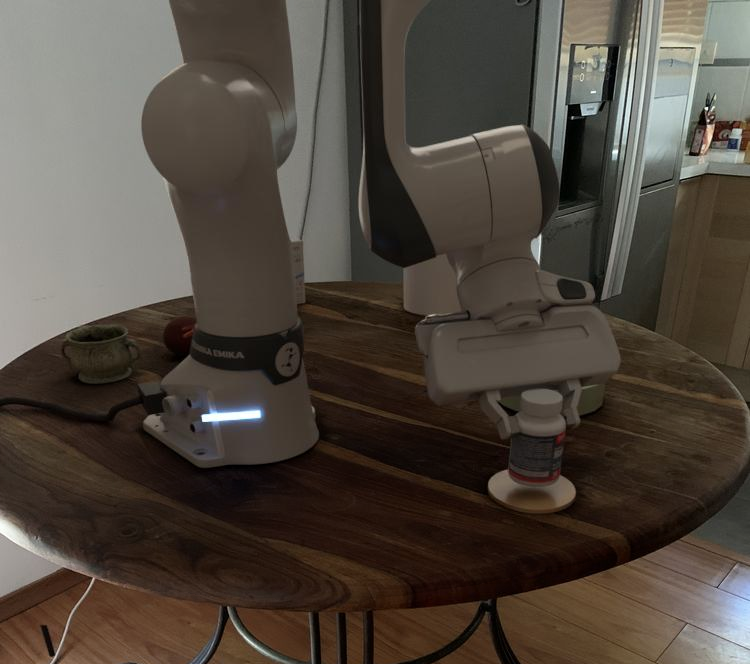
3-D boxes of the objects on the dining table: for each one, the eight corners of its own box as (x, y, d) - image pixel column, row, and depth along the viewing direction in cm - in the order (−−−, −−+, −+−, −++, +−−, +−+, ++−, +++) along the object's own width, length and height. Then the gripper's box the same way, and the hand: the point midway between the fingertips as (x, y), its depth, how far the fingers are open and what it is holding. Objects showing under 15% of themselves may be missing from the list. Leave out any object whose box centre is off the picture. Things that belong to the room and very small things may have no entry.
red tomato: (198, 344, 119) (193, 307, 116) (229, 357, 114) (224, 318, 111) (156, 354, 115) (150, 316, 112) (186, 368, 109) (181, 329, 106)
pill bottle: (559, 491, 73) (570, 408, 68) (506, 486, 74) (513, 404, 69) (559, 466, 77) (569, 387, 73) (509, 462, 78) (515, 384, 74)
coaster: (471, 495, 76) (471, 491, 76) (513, 463, 82) (513, 459, 82) (551, 523, 71) (551, 519, 71) (589, 487, 77) (590, 483, 77)
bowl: (474, 402, 97) (475, 374, 95) (524, 372, 107) (527, 345, 105) (574, 429, 90) (578, 399, 88) (619, 394, 99) (624, 366, 97)
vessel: (53, 385, 104) (42, 342, 101) (77, 364, 112) (67, 323, 109) (136, 385, 104) (128, 342, 100) (154, 364, 111) (148, 323, 108)
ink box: (264, 309, 136) (258, 243, 131) (255, 303, 140) (249, 238, 134) (306, 303, 140) (303, 238, 134) (296, 297, 144) (292, 234, 138)
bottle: (479, 308, 136) (488, 160, 123) (428, 319, 130) (433, 165, 117) (438, 295, 144) (443, 155, 132) (389, 305, 138) (389, 159, 126)
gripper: (418, 300, 70) (453, 435, 67) (606, 282, 75) (647, 406, 72) (403, 332, 76) (434, 457, 73) (578, 313, 81) (614, 429, 78)
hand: (541, 432), depth 73 cm, fingers closed on pill bottle, 5 cm apart
